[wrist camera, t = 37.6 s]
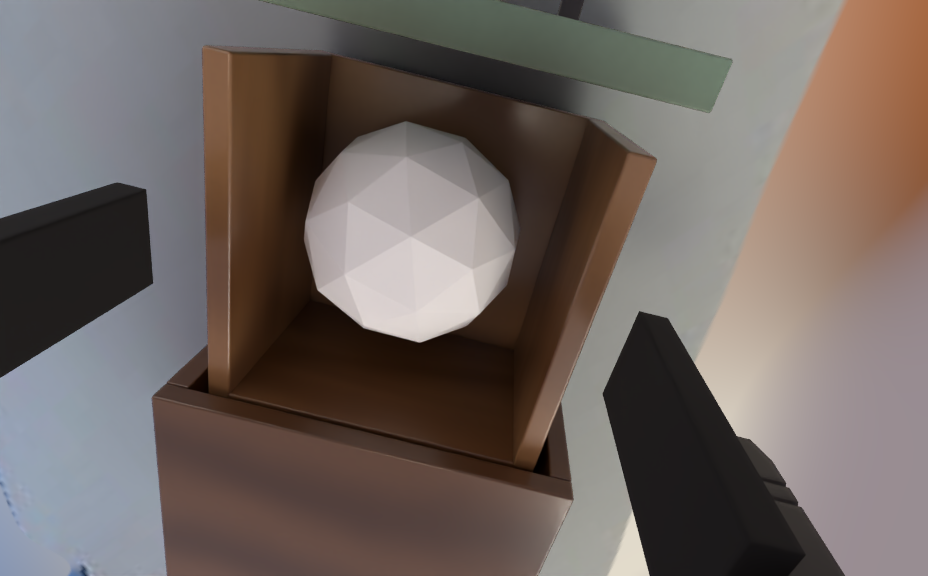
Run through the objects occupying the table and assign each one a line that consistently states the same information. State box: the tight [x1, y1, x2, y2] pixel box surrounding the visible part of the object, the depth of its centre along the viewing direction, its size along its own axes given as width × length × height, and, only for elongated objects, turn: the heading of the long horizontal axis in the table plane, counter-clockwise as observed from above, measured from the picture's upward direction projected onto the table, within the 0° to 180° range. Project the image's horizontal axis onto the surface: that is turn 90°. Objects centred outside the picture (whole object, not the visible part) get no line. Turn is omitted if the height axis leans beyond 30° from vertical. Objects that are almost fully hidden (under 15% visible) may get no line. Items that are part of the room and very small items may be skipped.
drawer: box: [202, 0, 732, 473], centre depth 17 cm, size 20×13×9 cm, turn 167°
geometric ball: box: [304, 121, 520, 343], centre depth 18 cm, size 8×8×8 cm
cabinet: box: [152, 345, 574, 576], centre depth 24 cm, size 16×15×11 cm
